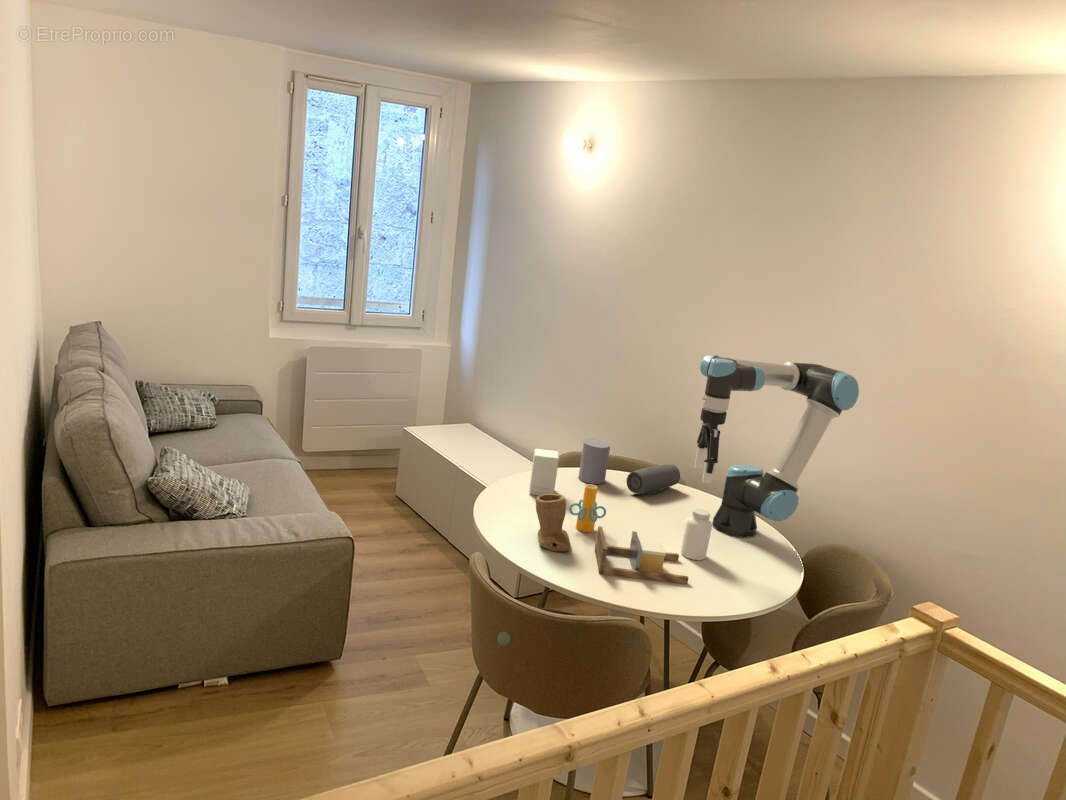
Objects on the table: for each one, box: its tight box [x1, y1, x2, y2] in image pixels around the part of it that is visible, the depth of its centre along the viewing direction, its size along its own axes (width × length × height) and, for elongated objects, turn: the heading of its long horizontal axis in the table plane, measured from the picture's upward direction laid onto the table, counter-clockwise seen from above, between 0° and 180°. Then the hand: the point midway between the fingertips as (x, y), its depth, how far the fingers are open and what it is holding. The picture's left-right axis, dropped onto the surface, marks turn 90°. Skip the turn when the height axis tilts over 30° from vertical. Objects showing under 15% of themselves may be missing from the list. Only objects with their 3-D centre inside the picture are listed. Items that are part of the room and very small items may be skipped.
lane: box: [594, 526, 689, 585], centre depth 239 cm, size 26×16×8 cm, turn 90°
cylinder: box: [568, 483, 607, 533], centre depth 261 cm, size 12×10×15 cm
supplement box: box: [528, 448, 560, 496], centre depth 290 cm, size 9×9×15 cm
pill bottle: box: [680, 508, 713, 561], centre depth 252 cm, size 8×8×15 cm
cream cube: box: [639, 539, 666, 573], centre depth 240 cm, size 7×7×7 cm
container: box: [578, 438, 611, 485], centre depth 310 cm, size 10×10×15 cm
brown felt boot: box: [535, 493, 572, 552], centre depth 247 cm, size 15×12×15 cm
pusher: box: [628, 531, 642, 570], centre depth 239 cm, size 1×13×8 cm, turn 1°
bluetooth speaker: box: [625, 463, 681, 495], centre depth 307 cm, size 23×9×10 cm, turn 133°
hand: (702, 475), depth 248 cm, fingers open, 13 cm apart
